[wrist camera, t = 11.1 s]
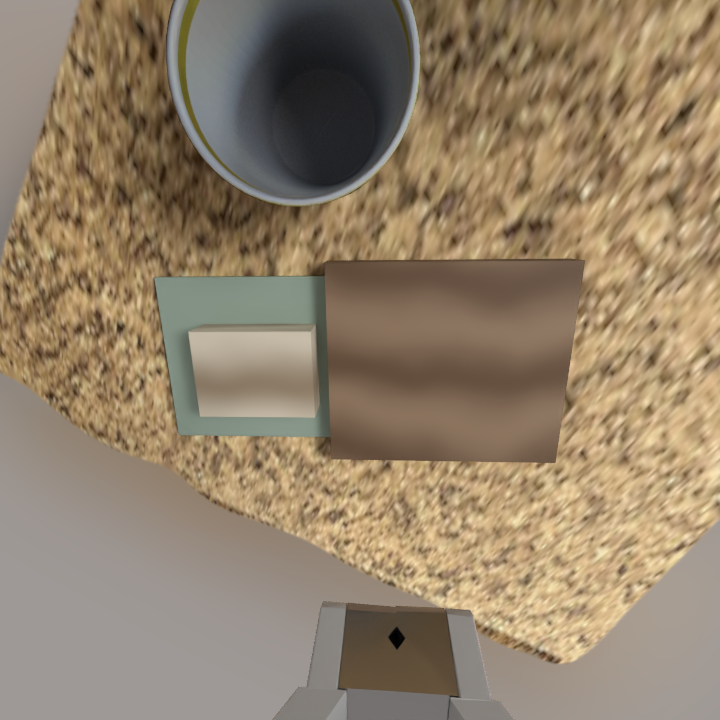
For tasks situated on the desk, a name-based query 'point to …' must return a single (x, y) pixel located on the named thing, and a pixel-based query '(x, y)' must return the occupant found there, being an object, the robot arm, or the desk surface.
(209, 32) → the ceramic cup
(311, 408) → the ash tile
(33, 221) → the desk surface
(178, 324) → the rubber mat
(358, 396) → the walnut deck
